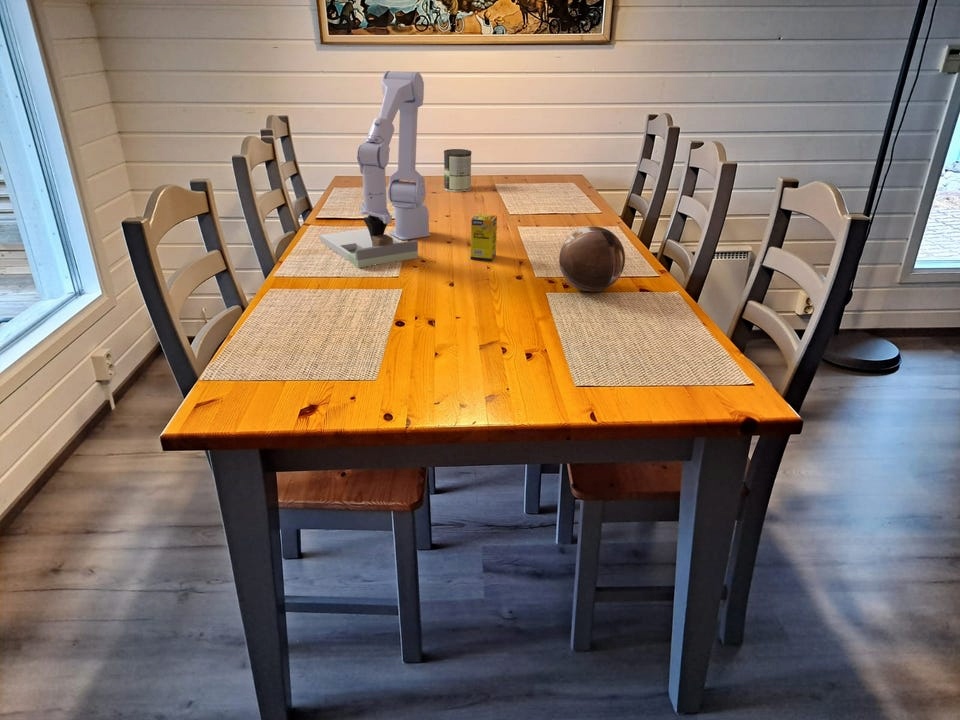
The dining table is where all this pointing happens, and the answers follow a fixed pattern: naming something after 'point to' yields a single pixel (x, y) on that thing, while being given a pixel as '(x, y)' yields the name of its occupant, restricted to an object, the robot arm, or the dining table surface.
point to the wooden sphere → (592, 259)
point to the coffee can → (457, 170)
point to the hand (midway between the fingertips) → (377, 244)
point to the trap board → (368, 248)
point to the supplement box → (483, 237)
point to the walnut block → (381, 240)
